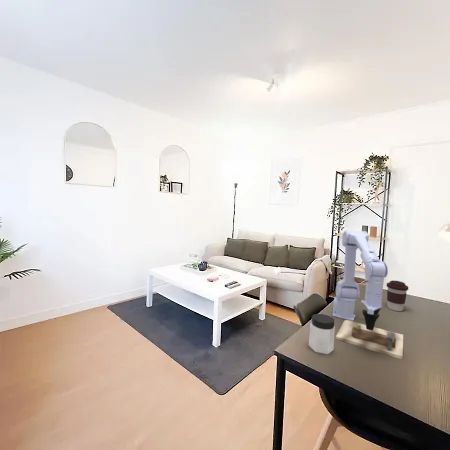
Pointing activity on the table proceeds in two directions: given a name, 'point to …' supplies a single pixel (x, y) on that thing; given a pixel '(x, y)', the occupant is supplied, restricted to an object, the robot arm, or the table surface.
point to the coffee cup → (396, 295)
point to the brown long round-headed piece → (372, 336)
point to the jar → (322, 333)
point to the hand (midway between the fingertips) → (370, 325)
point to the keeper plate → (346, 336)
